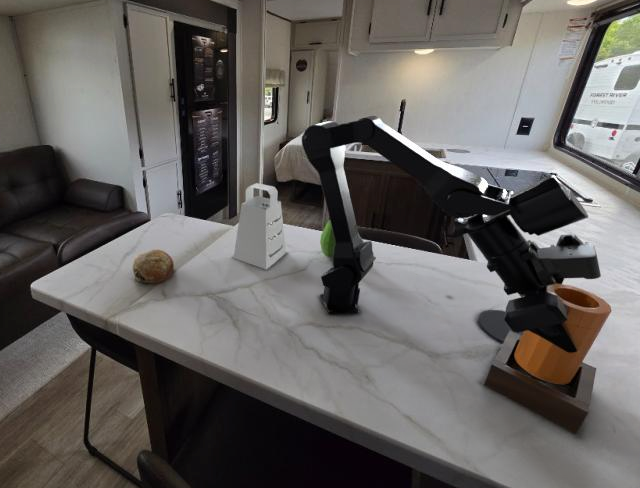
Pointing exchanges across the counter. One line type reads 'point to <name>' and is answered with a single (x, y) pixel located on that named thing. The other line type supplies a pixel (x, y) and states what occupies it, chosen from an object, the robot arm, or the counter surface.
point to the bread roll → (153, 266)
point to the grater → (260, 229)
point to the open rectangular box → (542, 389)
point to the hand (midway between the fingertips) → (571, 337)
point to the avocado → (328, 241)
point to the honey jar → (583, 327)
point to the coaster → (495, 324)
